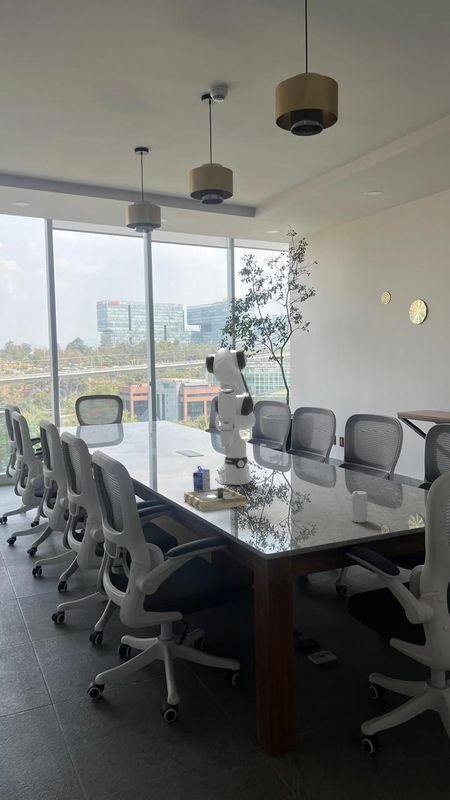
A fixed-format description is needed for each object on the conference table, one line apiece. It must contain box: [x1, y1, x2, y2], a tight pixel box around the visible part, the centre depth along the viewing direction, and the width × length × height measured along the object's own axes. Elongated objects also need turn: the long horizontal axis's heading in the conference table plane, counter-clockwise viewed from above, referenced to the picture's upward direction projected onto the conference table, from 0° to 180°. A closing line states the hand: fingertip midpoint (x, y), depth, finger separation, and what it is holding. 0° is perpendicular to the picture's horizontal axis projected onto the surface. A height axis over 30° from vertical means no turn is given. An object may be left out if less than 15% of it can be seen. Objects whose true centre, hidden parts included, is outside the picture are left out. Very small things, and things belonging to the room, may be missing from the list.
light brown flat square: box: [183, 487, 247, 512], centre depth 275 cm, size 22×22×4 cm
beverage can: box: [350, 490, 369, 524], centre depth 241 cm, size 6×6×12 cm
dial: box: [197, 487, 233, 501], centre depth 275 cm, size 17×17×6 cm
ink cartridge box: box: [192, 465, 211, 491], centre depth 292 cm, size 10×6×14 cm, turn 161°
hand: (228, 453), depth 273 cm, fingers closed
